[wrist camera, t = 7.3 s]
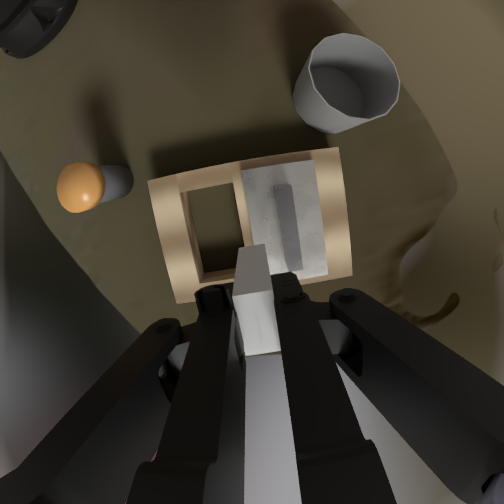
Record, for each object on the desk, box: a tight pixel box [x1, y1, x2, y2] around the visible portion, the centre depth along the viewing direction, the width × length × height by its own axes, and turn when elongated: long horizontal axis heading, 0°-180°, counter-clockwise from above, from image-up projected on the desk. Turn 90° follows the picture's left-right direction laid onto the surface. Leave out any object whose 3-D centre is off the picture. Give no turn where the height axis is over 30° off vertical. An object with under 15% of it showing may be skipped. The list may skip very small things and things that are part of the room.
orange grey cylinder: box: [57, 162, 134, 213], centre depth 27 cm, size 5×5×10 cm
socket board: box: [147, 147, 352, 304], centre depth 32 cm, size 14×20×4 cm
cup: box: [292, 33, 400, 133], centre depth 25 cm, size 8×8×10 cm
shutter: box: [241, 160, 328, 280], centre depth 28 cm, size 12×7×3 cm, turn 10°
